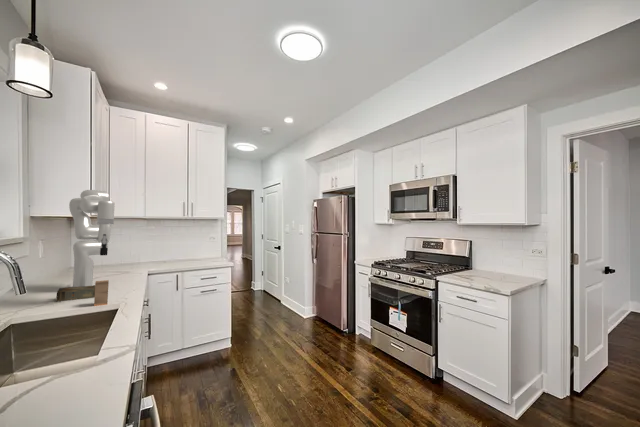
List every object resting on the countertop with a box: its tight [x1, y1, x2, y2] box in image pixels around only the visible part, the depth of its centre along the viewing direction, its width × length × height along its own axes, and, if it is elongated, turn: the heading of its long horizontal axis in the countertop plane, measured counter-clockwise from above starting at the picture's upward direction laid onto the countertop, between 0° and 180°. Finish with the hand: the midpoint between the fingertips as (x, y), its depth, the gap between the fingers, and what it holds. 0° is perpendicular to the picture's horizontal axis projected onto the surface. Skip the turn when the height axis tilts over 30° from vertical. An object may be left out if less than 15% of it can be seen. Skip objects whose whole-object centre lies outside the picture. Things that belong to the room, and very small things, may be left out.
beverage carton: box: [55, 284, 95, 302], centre depth 160 cm, size 8×19×7 cm, turn 126°
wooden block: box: [93, 279, 110, 307], centre depth 149 cm, size 6×6×12 cm
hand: (103, 254), depth 158 cm, fingers open, 3 cm apart
